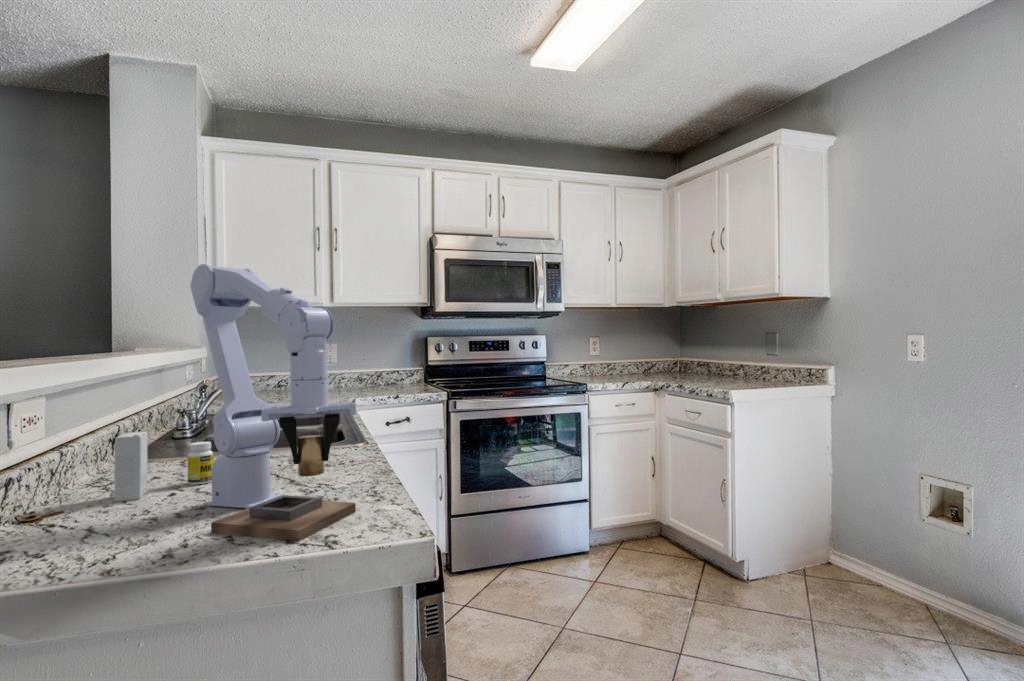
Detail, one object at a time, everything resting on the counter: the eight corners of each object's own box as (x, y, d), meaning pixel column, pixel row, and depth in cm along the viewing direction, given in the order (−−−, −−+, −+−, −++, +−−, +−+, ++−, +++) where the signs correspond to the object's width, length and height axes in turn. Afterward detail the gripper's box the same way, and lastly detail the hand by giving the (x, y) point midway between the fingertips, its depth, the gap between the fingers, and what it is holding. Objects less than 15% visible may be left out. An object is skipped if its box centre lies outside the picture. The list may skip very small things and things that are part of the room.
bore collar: (249, 517, 85) (249, 508, 85) (283, 504, 92) (283, 495, 92) (290, 521, 83) (290, 511, 83) (322, 506, 90) (321, 497, 90)
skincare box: (122, 494, 107) (121, 432, 108) (149, 491, 109) (148, 431, 109) (113, 502, 102) (112, 437, 102) (142, 499, 103) (140, 435, 104)
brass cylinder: (292, 475, 89) (292, 438, 89) (308, 470, 93) (308, 434, 93) (313, 476, 88) (313, 439, 88) (329, 471, 92) (328, 435, 92)
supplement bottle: (201, 485, 113) (201, 445, 113) (182, 485, 114) (181, 444, 114) (218, 480, 118) (218, 441, 118) (199, 479, 118) (199, 440, 119)
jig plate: (211, 532, 83) (211, 522, 83) (276, 505, 96) (276, 497, 96) (299, 540, 78) (299, 530, 78) (355, 511, 92) (355, 502, 92)
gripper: (260, 382, 84) (261, 471, 84) (357, 378, 90) (359, 461, 90) (261, 380, 90) (263, 462, 90) (352, 376, 96) (353, 453, 96)
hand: (310, 461), depth 90 cm, fingers closed on brass cylinder, 4 cm apart
